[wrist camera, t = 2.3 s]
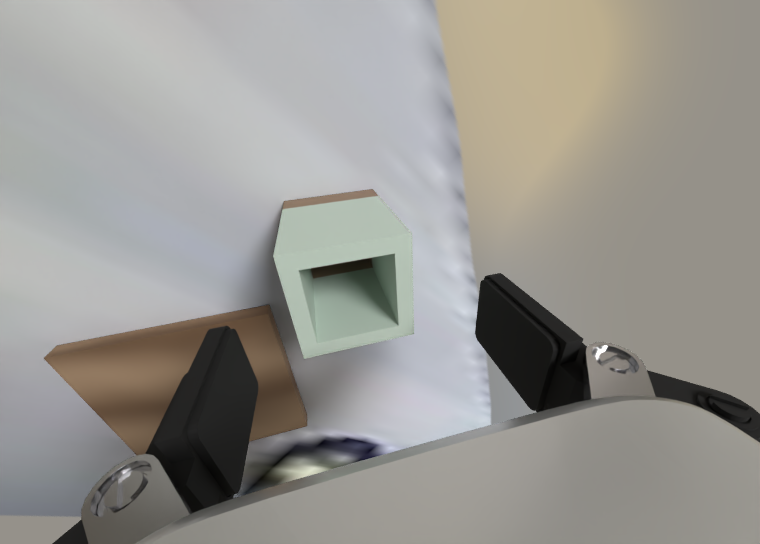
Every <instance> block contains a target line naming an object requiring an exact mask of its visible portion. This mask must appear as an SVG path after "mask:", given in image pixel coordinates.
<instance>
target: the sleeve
mask: <svg viewBox="0 0 760 544" xmlns="http://www.w3.org/2000/svg"><path fill="white" fill-rule="evenodd" d="M273 258H274V261H275V264H276V268H277V271H278V274H279V278H280V281H281V284H282V288H283V291H284V294H285V298H286V301H287V304H288V308H289V311H290V314H291V318H292V321H293V324H294V328H295V331H296V334H297V338H298V341H299V344H300V348H301V351H302V354H303V358H304V359H306V358H311V357H315V356H320V355H324V354H328V353H333V352H337V351H342V350H346V349H350V348H355V347H359V346H364V345H368V344H372V343H377V342H381V341H386V340H390V339H394V338H399V337H403V336H407V335H412V334H414V312H413V257H412V233H411V232H410V231H409V229H408V228H407V227H406V226H405V225H404V224H403V223H402V222H401V220H400V219H399V218H398V217H397V216H396V215H395V214H394V213H393V212H392V210H391V209H390V208H389V207H388V206H387V205H386V204H385V203H384V201H383V200H382V199H381V198H380V197H379V196H378V195H377V194H376V192H375V191H374V190H373V189H370V190H363V191H355V192H348V193H341V194H333V195H326V196H319V197H311V198H304V199H297V200H289V201H284V204H283V209H282V214H281V219H280V224H279V230H278V235H277V240H276V245H275V250H274V255H273Z"/></svg>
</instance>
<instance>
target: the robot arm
mask: <svg viewBox="0 0 760 544" xmlns="http://www.w3.org/2000/svg"><path fill="white" fill-rule="evenodd" d="M475 334H476V338H477V340H478V341H479V343H480V344H481V345H482V347H483V348H484V349H485V351H486V352H487V353H488V355H489V356H490V357H491V358H492V360H493V361H494V362H495V364H496V365H497V366H498V367H499V369H500V370H501V371H502V373H503V374H504V375H505V377H506V378H507V379H508V381H509V382H510V383H511V384H512V386H513V387H514V388H515V390H516V391H517V392H518V393H519V395H520V396H521V398H522V399H523V400H524V401H525V403H526V404H527V405H528V407H529V408H530V409H532V410H534V411H535V410H536V412H537V413H533V414H529V415H525V416H522V417H518V418H514V419H511V420H507V421H504V422H500V423H496V424H493V425H489V426H485V427H482V428H478V429H474V430H471V431H467V432H463V433H460V434H456V435H452V436H449V437H445V438H442V439H438V440H435V441H431V442H427V443H424V444H420V445H417V446H413V447H409V448H406V449H402V450H399V451H395V452H392V453H388V454H384V455H381V456H377V457H374V458H370V459H367V460H363V461H360V462H356V463H353V464H349V465H346V466H342V467H339V468H335V469H332V470H328V471H325V472H321V473H318V474H314V475H311V476H307V477H304V478H300V479H297V480H293V481H290V482H286V483H283V484H280V485H276V486H273V487H270V488H266V489H263V490H260V491H257V492H253V493H250V494H247V495H243V496H240V497H237V498H233V496H234V494H236V493H238V492H239V490H240V487H241V482H242V476H243V471H244V465H245V460H246V455H247V449H248V444H249V438H250V433H251V428H252V422H253V417H254V412H255V406H256V401H257V395H258V381H257V378H256V376H255V374H254V371H253V369H252V367H251V364H250V362H249V359H248V357H247V355H246V352H245V350H244V348H243V345H242V343H241V341H240V338H239V336H238V333H237V331H236V330H235V329H230V327H229V326H222V327H217V328H212V329H209V330H208V331H207V333H206V335H205V337H204V340H203V342H202V344H201V346H200V348H199V350H198V352H197V354H196V356H195V358H194V360H193V363H192V365H191V367H190V369H189V371H188V373H186V374H185V375H184V376H183V378H182V380H181V382H180V384H179V386H178V388H177V390H176V392H175V394H174V396H173V398H172V400H171V402H170V404H169V406H168V408H167V410H166V412H165V414H164V416H163V419H162V421H161V423H160V425H159V427H158V429H157V431H156V433H155V435H154V437H153V439H152V441H151V443H150V445H149V447H148V449H147V451H146V453H145V454H142V455H136V456H134V457H132V458H129V459H127V460H125V461H123V462H122V463H120V464H118V465H117V466H115V467H114V468H112V469H111V470H110V471H109V472H108V473H106V474H105V475H104V476H103V477H102V478H101V479H100V480H99V481H98V482H97V483H96V485H95V486H94V487H93V488H92V490H91V491H90V493H89V494H88V496H87V497H86V499H85V501H84V504H83V507H82V509H81V519H82V520H80V521H79V522H78V523H77V524H76V525H74V526H73V527H72V528H71V529H70V530H68V531H67V532H66V533H65V534H64V535H62V536H61V537H60V538H59V539H58V540H57V541H55V542H54V543H53V544H760V414H759V413H758V412H757V411H756V410H754V409H753V408H752V407H751V406H749V405H747V404H746V403H744V402H743V401H741V400H739V399H737V398H735V397H733V396H731V395H728V394H726V393H723V392H720V391H717V390H714V389H710V388H706V387H703V386H699V385H696V384H693V383H689V382H686V381H682V380H679V379H675V378H672V377H668V376H665V375H662V374H658V373H654V372H651V371H648V370H647V369H646V366H645V365H644V363H643V361H642V360H641V359H640V358H639V357H638V356H637V355H635V354H634V353H632V352H631V351H629V350H628V349H625V348H623V347H621V346H618V345H615V344H612V343H605V342H595V343H593V344H590V345H589V346H588V347H587V346H585V345H584V344H583V343H582V341H583V338H582V337H580V336H579V335H578V334H577V333H575V332H574V331H573V330H571V329H570V328H569V327H568V326H566V325H565V324H564V323H563V322H562V321H560V320H559V319H558V318H557V317H555V316H554V315H553V314H552V313H550V312H549V311H548V310H546V309H545V308H544V307H543V306H541V305H540V304H539V303H538V302H537V301H535V300H534V299H533V298H531V297H530V296H529V295H528V294H526V293H525V292H524V291H523V290H521V289H520V288H519V287H518V286H516V285H515V284H514V283H513V282H511V281H510V280H509V279H508V278H506V277H505V276H504V275H503V274H501V273H498V274H493V275H488V276H485V278H484V280H482V281H481V284H480V293H479V302H478V311H477V320H476V330H475Z"/></svg>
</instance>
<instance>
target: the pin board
mask: <svg viewBox="0 0 760 544" xmlns="http://www.w3.org/2000/svg"><path fill="white" fill-rule="evenodd" d="M222 326H229V327H230V329H235V330H236V331H237V333H238V336H239V338H240V341H241V343H242V345H243V348H244V350H245V352H246V355H247V357H248V359H249V362H250V364H251V367H252V369H253V371H254V374H255V376H256V378H257V381H258V395H257V401H256V406H255V412H254V417H253V422H252V428H251V433H250V438H249V441H253V440H257V439H260V438H264V437H268V436H272V435H275V434H279V433H283V432H287V431H290V430H294V429H298V428H302V427H305V426H307V414H306V411H305V408H304V405H303V402H302V399H301V396H300V393H299V390H298V387H297V384H296V382H295V379H294V376H293V373H292V370H291V367H290V364H289V361H288V358H287V355H286V352H285V349H284V346H283V343H282V340H281V338H280V335H279V332H278V329H277V326H276V323H275V320H274V317H273V314H272V311H271V308H270V305H265V306H260V307H255V308H249V309H244V310H239V311H234V312H229V313H224V314H218V315H213V316H208V317H203V318H198V319H192V320H187V321H182V322H177V323H172V324H167V325H161V326H156V327H151V328H146V329H141V330H135V331H130V332H125V333H120V334H115V335H109V336H104V337H99V338H94V339H89V340H84V341H78V342H73V343H68V344H63V345H58V346H56V347H55V348H54V349H53V350H52V351H51V352H50V353H49V354H48V355H47V356H46V357H45V358H44V359H45V360H46V361H47V362H48V363H49V364H50V365H51V366H52V367H53V369H54V370H55V371H56V372H57V373H58V374H59V375H60V376H61V377H62V378H63V379H64V380H65V381H66V382H67V383H68V384H69V385H70V386H71V387H72V388H73V389H74V390H75V391H76V392H77V393H78V395H79V396H80V397H81V398H82V399H83V400H84V401H85V402H86V403H87V404H88V405H89V406H90V407H91V408H92V409H93V410H94V411H95V412H96V413H97V414H98V415H99V416H100V417H101V418H102V419H103V420H104V422H105V423H106V424H107V425H108V426H109V427H110V428H111V429H112V430H113V431H114V432H115V433H116V434H117V435H118V436H119V437H120V438H121V439H122V440H123V441H124V442H125V443H126V444H127V445H128V446H129V448H130V449H131V450H132V451H133V452H134V453H135V454H136V455H142V454H145V453H146V451H147V449H148V447H149V445H150V443H151V441H152V439H153V437H154V435H155V433H156V431H157V429H158V427H159V425H160V423H161V421H162V419H163V416H164V414H165V412H166V410H167V408H168V406H169V404H170V402H171V400H172V398H173V396H174V394H175V392H176V390H177V388H178V386H179V384H180V382H181V380H182V378H183V376H184V375H185V374H186V373H188V371H189V369H190V367H191V365H192V363H193V360H194V358H195V356H196V354H197V352H198V350H199V348H200V346H201V344H202V342H203V340H204V337H205V335H206V333H207V331H208V330H209V329H212V328H217V327H222Z"/></svg>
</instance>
